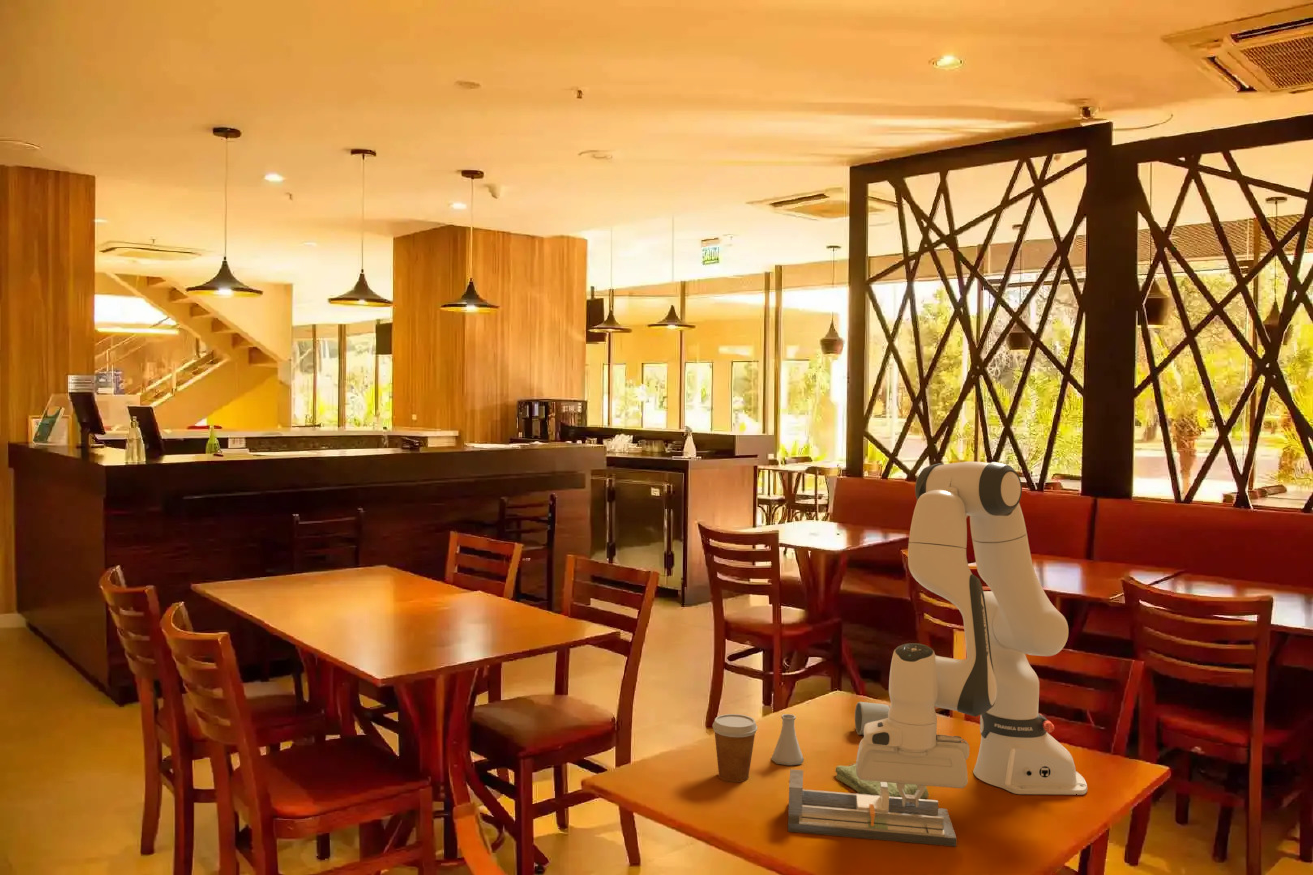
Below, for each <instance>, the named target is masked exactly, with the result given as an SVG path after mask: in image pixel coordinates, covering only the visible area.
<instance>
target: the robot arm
mask: <svg viewBox="0 0 1313 875" xmlns="http://www.w3.org/2000/svg"><path fill="white" fill-rule="evenodd" d="M1022 486H1023V484H1022V480H1021V478H1020V476H1019V474H1018V472H1016V470H1015V468H1013V467H1012V466H1011V465H1009V464H1005V463H1002V462H996V461H992V462H983V461H967V460H966V461H962V462H951V463H950V462H949V463H945V464H944V463H935V464H932V465H929V466H926V467H924V468H923V469H922V470H920V473H919V474H918V476H917V478H916V481H915V484H914V487H915V488H914V493H915V497H916V504H915V507H914V510H913V515H912V517H911V518H912V519H911V522H910V523H911V524H910V530H909V535H908V536H909V538H908V544H907V545H908V546H907V564H908V566H907V567H908V570H909V572H910V574H911V576H912V577H913V579H914V580H915V581H916V582H918V583H919V585H920V586H922V587H923V588H925V589H926V590H928V591H930V592H931V593H933V594H935V595H937V596H939V597H942V598H943V599H945V600H947V601H949V602H950V603H951V604H953V606H955V607H956V609H958V610H959V613H960V614H961V616H962V620H963V629H964V631H963V632H964V639H965V649H966V658H965V659H957V658H951V657H947V656H940V655H936V654H935V650H934V649H933V648H932V647H930V646H928V645H926V644H922V643H916V642H915V643H914V642H911V643H904V644H900V645H899V646H897V647H895V649H894V650H893V653H892V658H891V662H890V670H889V680H888V695H889V698H890V699H889V700H890V705H889V706H890V709H889V712H888V718H886V719H882V720H878V721H874V722H869V723H867V724H865V726H864V735H863V738H861V740H860V742H859V744H858V749H857V754H856V762H855V764H856V775H857V776H858V778H859V779H860V780H864V781H877V782H889V783H896V786H897V789H898V791H899V793H900V795H901V797H902V806H904V807H916V808H918V805H919V799H920V797H921V796H922V794H923V793H924V792H925V786H926V787H927V786H928V787H929V786H930V787H938V788H939V787H941V788H953V789H954V788H955V789H964V788H965V787H966V786H967V785H968V782H969V780H968V769H967V768H968V767H967V762H966V761H967V760H968V758H969V756H970V744H969V742H968V741H967V740H965V739H964V738H962V737H961V736H960V735H959V736H958V735H953V736H951V735H946V734H937V733H938V732H937V723H938V720H937V719H938V717H937V716H938V715H937V713H936V708H939V709H944V710H950V711H956V712H958V713H961V714H963V715H969V716H972V717H975V718H976V717H978V716H979V731H980V732H979V733H980V735H981V738H980V745H979V749H978V755H977V759H976V763H975V765H974V767H973V768H974V769H973V775H974V776H975V777H976V778H977V779H979V781H982V782H984V783H986V784H988V785H991V786H995V787H998V788H1001V789H1003V790H1006V791H1008V792H1010V793H1012V794H1015V795H1016V794H1017V795H1076V794H1077V795H1085V794H1086V793H1087V792H1088V784H1087V782H1086V780H1085V777H1083V776H1082V774H1080V773H1079V772H1078V771H1076V765H1075V762H1074V758H1073V756H1072V754H1071V753H1070V751H1069V750H1068V749H1067V748H1066V747H1065V746H1063V744H1061V743H1060V742H1059V741H1058V740H1056V738H1054V737H1053V736H1052V735H1051V734H1050V733H1053V731H1055V725H1054V724H1053V723H1052V722H1051V721H1050V720H1049V719H1047V717H1045V716H1044V715H1042V713H1039V703H1040V702H1039V701H1040V700H1039V698H1040V680H1039V676H1038V675H1037V672H1035V670H1034V669H1033V668H1032V666H1031V664H1030V662H1029V660H1028V658H1027V655H1029V656H1038V657H1052V656H1055V655H1057V654H1058V653H1060V652H1061V651H1062V650H1063V649H1064V647H1065V646H1066V643H1067V641H1068V638H1069V625H1068V621H1067V619H1066V617H1065V615H1063V613H1061V612H1060V611H1059V610H1058V609H1057V608H1056V607H1055V605H1053V603H1052V602H1051V601H1050V598H1049V597H1048V595H1047V594H1046V592H1045V590H1044V588H1043V587H1042V584H1041V582H1040V580H1039V578H1038V576H1037V573H1036V571H1035V568H1034V564H1033V561H1032V555H1031V550H1030V549H1031V548H1030V544H1029V538H1028V533H1027V527H1026V522H1025V518H1024V514H1023V511H1022V507H1021V504H1020V502H1021V498H1022V494H1023V487H1022ZM968 517H969V526H970V534H971V541H972V546H973V551H974V552H973V553H974V559H975V564H976V570H977V573H978V575H979V577H980V578H979V577H978V576H976V575H974V574H973V573H972V571H971V569H970V567H969V563H968V559H967V544H968V543H967V542H968V525H967V519H968ZM981 580H982V581H983V582H984V583H986V586H988V588H989V589H990V591H988V590H987V591H984V587H983V585H982V583H981ZM905 784H914V785H916V786H917V791H916V793H915V794H914V795H907V794H905V792H904V790H903V789H905ZM1077 795H1076V796H1077Z"/></svg>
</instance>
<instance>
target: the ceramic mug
mask: <svg viewBox="0 0 1313 875" xmlns="http://www.w3.org/2000/svg"><path fill="white" fill-rule="evenodd" d="M889 709H890V705H889V704H884V703H874V702H867V701H866V702H865V701H864V702H863V701H858V702H857V703H856V705H855V709H854V726H855V731H856V733H857V735H858V736H864V726H865V724H867V723H869V722H874V721H878V720H882V719H886V718H888V712H889Z"/></svg>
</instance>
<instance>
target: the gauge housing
mask: <svg viewBox="0 0 1313 875" xmlns="http://www.w3.org/2000/svg"><path fill="white" fill-rule="evenodd" d="M803 783H804V770H803V769H789V785H788V819H787V820H788V821H787V832H791V833H801V834H802V833H804V834H811V835H812V834H813V835H822V834H823V835H825V836H834V837H846V838H854V839H855V838H856V839H866V840H867V839H870V840H879V841H888V842H889V841H892V842H902V843H913V844H923V845H933V846H944V847H945V846H946V847H955V848H956V847H957V836H956V833H955V829H954V827H953V823H952V821H951V818H950V814H949V812H948V809H947V808H940V807H939V801H938V800H936V799H927V798H925V799H919V805H918V808H916V807H904V806H902V797H890V796H889V812H879V811H875V817H874V826H871V816H870V811H867V810H856V795H866V794H861V793H852V792H841V791H839V792H838V791H828V790H817V789H815V790H814V789H806V788H805V789H804V788H803V787H804V784H803ZM868 796H878V795H868ZM823 835H822V836H823Z"/></svg>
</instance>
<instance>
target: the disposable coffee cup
mask: <svg viewBox="0 0 1313 875" xmlns="http://www.w3.org/2000/svg"><path fill="white" fill-rule="evenodd" d="M756 722H757V721H756V720H755V718H753V717H751V716H748V715H745V714H744V715H743V714H738V713H727V714H720V715H718V716H716V717H714V721H713V723H712V725H711V726H712V729H713V732H714V737H715V739H714V740H715V750H716V758H717V760H716V761H717V769H718V777H719V778H720V779H721V780H723V781H726V782H732V783H741V782H745V781H746V780H748V779H749V777H750V769H751V762H752V756H753V749H754V744H755V743H754V742H755V737H756V733H757V731H758V726H757V723H756Z"/></svg>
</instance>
